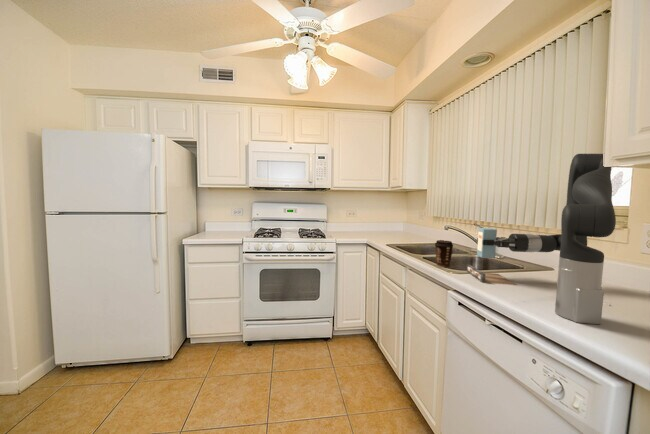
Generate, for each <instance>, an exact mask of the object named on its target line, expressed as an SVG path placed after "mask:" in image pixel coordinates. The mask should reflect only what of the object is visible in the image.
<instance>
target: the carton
mask: <svg viewBox="0 0 650 434" xmlns="http://www.w3.org/2000/svg"><path fill="white" fill-rule="evenodd" d="M497 234H498V229H496V228H491V227H488V228H487V227H478V235H477V238H478V242H477V246H476V247H477V249H476V255H477V257H480V258H482V259H496V250H497V246H491V245H483V240H493V241H494V240H496V237H498V236H497Z"/></svg>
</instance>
